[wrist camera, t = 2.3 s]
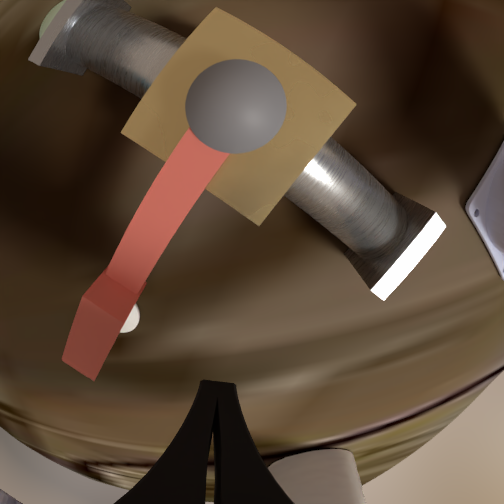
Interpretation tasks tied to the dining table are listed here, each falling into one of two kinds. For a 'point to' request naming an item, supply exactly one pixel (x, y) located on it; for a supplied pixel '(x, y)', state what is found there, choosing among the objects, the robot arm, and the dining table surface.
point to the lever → (177, 195)
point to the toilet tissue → (319, 477)
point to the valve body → (264, 158)
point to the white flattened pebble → (131, 320)
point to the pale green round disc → (50, 17)
